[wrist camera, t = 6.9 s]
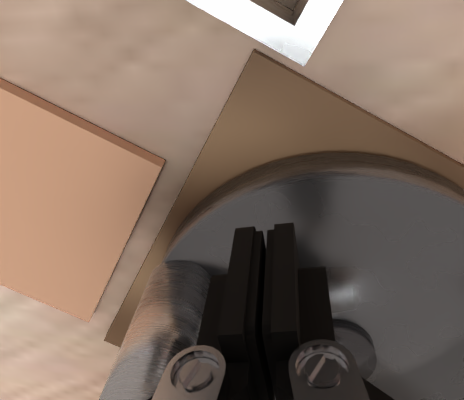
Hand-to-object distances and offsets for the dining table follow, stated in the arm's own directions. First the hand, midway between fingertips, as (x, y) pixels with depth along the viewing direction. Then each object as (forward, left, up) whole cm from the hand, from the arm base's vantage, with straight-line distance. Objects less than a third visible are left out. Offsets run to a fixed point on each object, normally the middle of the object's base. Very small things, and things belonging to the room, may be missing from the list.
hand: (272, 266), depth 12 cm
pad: (-5, +9, -4) cm, 11 cm away
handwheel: (-3, -4, -4) cm, 7 cm away
